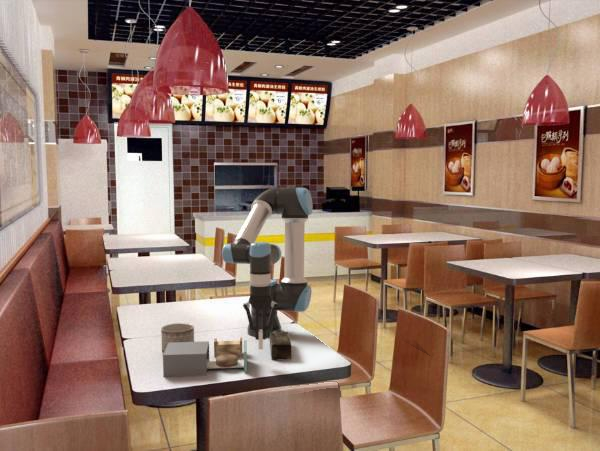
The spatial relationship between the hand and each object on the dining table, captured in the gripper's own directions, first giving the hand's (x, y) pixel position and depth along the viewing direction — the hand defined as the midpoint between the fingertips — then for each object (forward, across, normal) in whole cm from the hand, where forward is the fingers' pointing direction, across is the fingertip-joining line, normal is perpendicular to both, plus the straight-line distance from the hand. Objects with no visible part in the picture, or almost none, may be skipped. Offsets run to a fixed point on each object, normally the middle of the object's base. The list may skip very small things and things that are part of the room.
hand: (260, 348), depth 208 cm
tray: (+7, +13, 0) cm, 14 cm away
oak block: (+7, +12, -14) cm, 20 cm away
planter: (+7, +32, -20) cm, 38 cm away
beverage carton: (+7, -8, -16) cm, 19 cm away
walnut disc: (+6, +12, 0) cm, 14 cm away
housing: (+7, +27, 0) cm, 28 cm away
